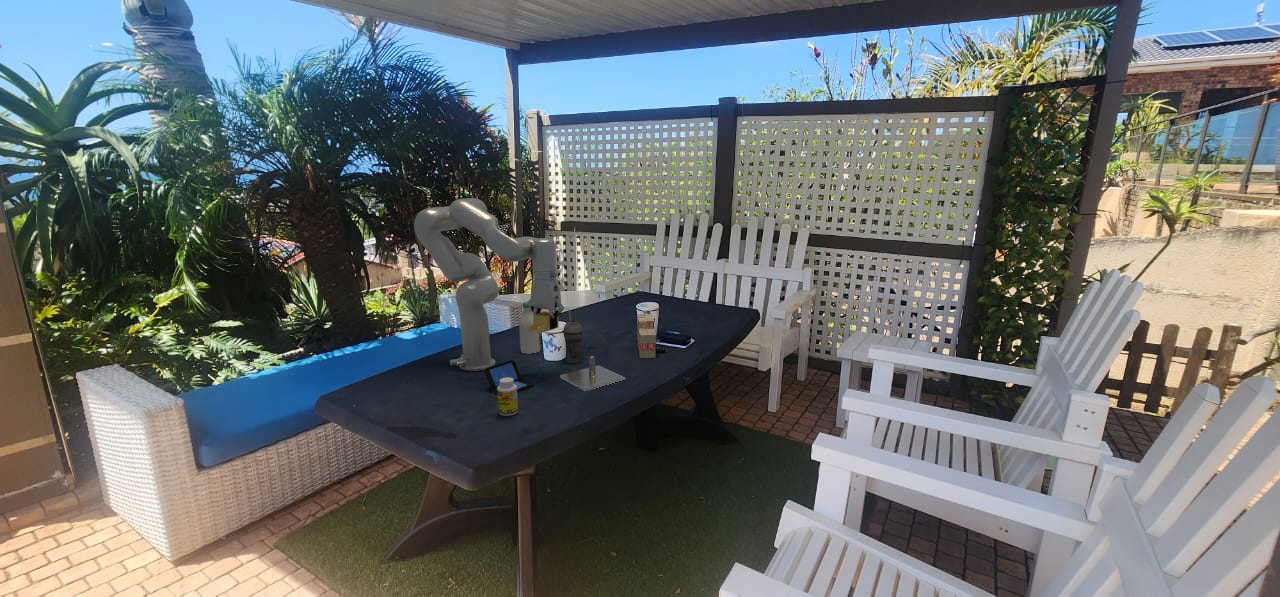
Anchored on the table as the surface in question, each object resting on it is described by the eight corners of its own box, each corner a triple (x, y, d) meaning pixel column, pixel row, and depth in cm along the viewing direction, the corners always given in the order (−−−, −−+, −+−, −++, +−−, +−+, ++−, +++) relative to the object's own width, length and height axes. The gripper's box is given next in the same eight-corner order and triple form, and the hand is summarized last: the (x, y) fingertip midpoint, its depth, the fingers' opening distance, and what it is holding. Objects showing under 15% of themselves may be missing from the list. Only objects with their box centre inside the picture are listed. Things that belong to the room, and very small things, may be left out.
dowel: (592, 382, 175) (592, 376, 175) (590, 381, 176) (590, 375, 176) (596, 381, 176) (596, 375, 176) (593, 380, 177) (593, 374, 177)
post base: (585, 391, 170) (584, 368, 168) (559, 377, 182) (559, 355, 181) (625, 380, 180) (625, 357, 178) (598, 367, 192) (598, 346, 190)
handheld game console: (506, 398, 166) (504, 376, 164) (484, 390, 172) (482, 369, 171) (536, 386, 175) (535, 365, 174) (514, 379, 182) (513, 358, 180)
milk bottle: (538, 354, 207) (536, 304, 203) (518, 354, 207) (515, 304, 203) (542, 348, 215) (540, 300, 211) (523, 348, 215) (520, 300, 211)
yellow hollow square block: (545, 325, 187) (544, 311, 186) (558, 327, 184) (558, 313, 183) (526, 331, 179) (525, 316, 178) (540, 334, 176) (539, 319, 175)
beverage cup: (582, 364, 196) (580, 311, 191) (562, 364, 196) (560, 311, 192) (584, 358, 203) (583, 307, 199) (565, 357, 203) (563, 307, 199)
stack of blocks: (656, 358, 203) (656, 327, 200) (639, 358, 203) (639, 327, 200) (652, 341, 224) (652, 313, 221) (637, 342, 223) (637, 313, 221)
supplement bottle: (494, 415, 153) (492, 381, 151) (506, 407, 158) (504, 375, 156) (511, 418, 151) (508, 384, 149) (522, 410, 156) (520, 377, 154)
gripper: (571, 276, 178) (572, 328, 181) (532, 271, 186) (534, 321, 190) (557, 279, 171) (558, 333, 175) (517, 274, 180) (519, 325, 184)
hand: (546, 326), depth 183 cm, fingers closed on yellow hollow square block, 6 cm apart
